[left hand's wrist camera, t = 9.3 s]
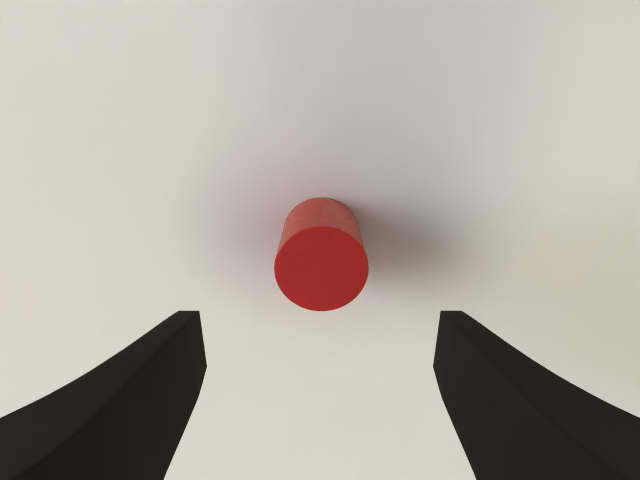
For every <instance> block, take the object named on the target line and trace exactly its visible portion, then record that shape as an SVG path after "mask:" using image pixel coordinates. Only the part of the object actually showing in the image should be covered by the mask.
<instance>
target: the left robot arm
mask: <svg viewBox="0 0 640 480" xmlns="http://www.w3.org/2000/svg"><path fill="white" fill-rule="evenodd" d="M206 368H207V364H206V357H205V349H204V342H203V335H202V328H201V320H200V313H199V311H178V312H176V313H174V314H173V315H171V316H170V317H168V318H167V319H166V320H164V321H163V322H161V323H160V324H159V325H157V326H156V327H154V328H153V329H152V330H150V331H149V332H147V333H146V334H145V335H143V336H142V337H140V338H139V339H138V340H136V341H135V342H133V343H132V344H130V345H129V346H128V347H126V348H125V349H123V350H122V351H120V352H119V353H117V354H116V355H114V356H112V357H111V358H109V359H108V360H106V361H105V362H103V363H102V364H100V365H99V366H97V367H96V368H94V369H92V370H91V371H89V372H88V373H86V374H84V375H83V376H81V377H79V378H78V379H76V380H74V381H72V382H71V383H69V384H67V385H65V386H63V387H61V388H60V389H58V390H56V391H54V392H52V393H51V394H49V395H47V396H45V397H43V398H41V399H39V400H37V401H35V402H33V403H31V404H29V405H27V406H24V407H22V408H20V409H18V410H16V411H14V412H12V413H10V414H8V415H6V416H4V417H1V418H0V480H164V477H165V475H166V472H167V470H168V467H169V465H170V463H171V460H172V458H173V456H174V453H175V451H176V449H177V446H178V444H179V442H180V439H181V437H182V435H183V433H184V430H185V428H186V426H187V423H188V421H189V418H190V416H191V414H192V411H193V409H194V407H195V404H196V402H197V399H198V396H199V393H200V390H201V386H202V383H203V379H204V375H205V372H206ZM433 368H434V372H435V375H436V379H437V383H438V386H439V390H440V393H441V396H442V399H443V402H444V404H445V407H446V409H447V411H448V414H449V416H450V418H451V421H452V423H453V426H454V428H455V430H456V433H457V435H458V437H459V439H460V442H461V444H462V446H463V449H464V451H465V453H466V456H467V458H468V460H469V463H470V465H471V467H472V470H473V472H474V475H475V477H476V480H640V418H639V417H637V416H635V415H632V414H630V413H628V412H626V411H624V410H622V409H620V408H617V407H615V406H613V405H611V404H609V403H607V402H605V401H603V400H601V399H599V398H597V397H596V396H594V395H592V394H590V393H588V392H586V391H584V390H583V389H581V388H579V387H577V386H575V385H573V384H572V383H570V382H568V381H566V380H565V379H563V378H561V377H559V376H558V375H556V374H554V373H553V372H551V371H550V370H548V369H546V368H545V367H543V366H542V365H540V364H538V363H537V362H535V361H534V360H532V359H531V358H529V357H527V356H526V355H524V354H523V353H521V352H520V351H519V350H517V349H516V348H514V347H513V346H511V345H510V344H508V343H507V342H505V341H504V340H503V339H501V338H500V337H498V336H497V335H496V334H494V333H493V332H491V331H490V330H489V329H487V328H486V327H484V326H483V325H482V324H480V323H479V322H477V321H476V320H475V319H473V318H472V317H470V316H469V315H467V314H466V313H464V312H462V311H441V313H440V320H439V327H438V335H437V342H436V349H435V357H434V364H433Z"/></svg>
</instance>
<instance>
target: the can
mask: <svg viewBox="0 0 640 480" xmlns="http://www.w3.org/2000/svg"><path fill="white" fill-rule="evenodd" d="M274 273H275V278H276V281H277V284H278V286H279V288H280V289H281V291H282V292H283V294H284V295H285V296H286V297H287V298H288V299H289V300H290V301H292V302H293V303H295V304H296V305H298V306H300V307H303V308H305V309H309V310H314V311H329V310H334V309H337V308H340V307H342V306H344V305H346V304H348V303H349V302H351V301H352V300H353V299H355V298H356V297H357V296H358V294H359V293H360V292H361V290H362V289H363V287H364V285H365V283H366V280H367V277H368V260H367V256H366V252H365V249H364V245H363V242H362V238H361V235H360V231H359V228H358V224H357V222H356V219H355V217H354V215H353V214H352V212H351V211H350V210H349V209H348V208H347V207H346V206H344V205H343V204H341V203H340V202H338V201H335V200H332V199H328V198H314V199H310V200H307V201H304V202H303V203H301V204H299V205H298V206H296V207H295V208H294V209H293V210H292V212H291V213H290V214H289V216H288V217H287V220H286V222H285V226H284V229H283V233H282V237H281V240H280V244H279V248H278V252H277V255H276V259H275V265H274Z"/></svg>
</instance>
